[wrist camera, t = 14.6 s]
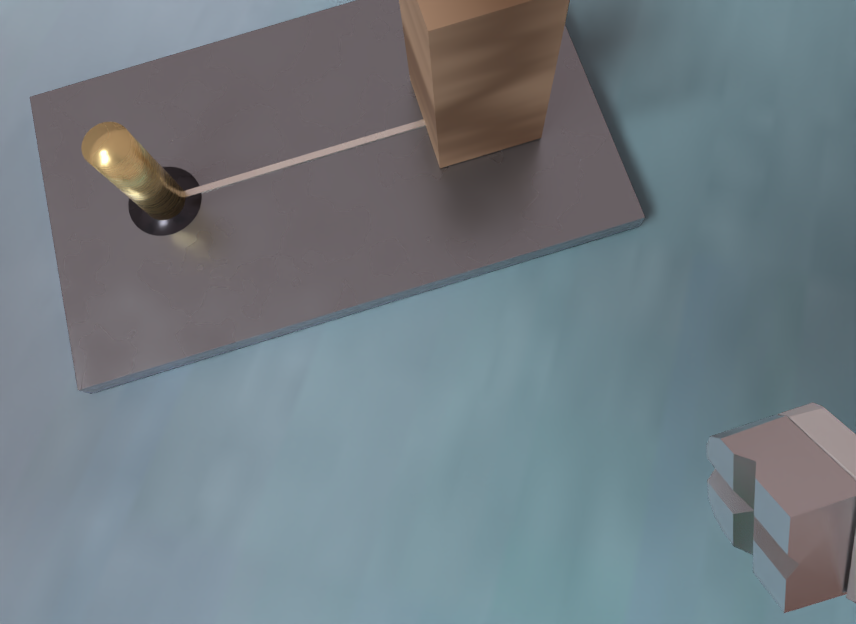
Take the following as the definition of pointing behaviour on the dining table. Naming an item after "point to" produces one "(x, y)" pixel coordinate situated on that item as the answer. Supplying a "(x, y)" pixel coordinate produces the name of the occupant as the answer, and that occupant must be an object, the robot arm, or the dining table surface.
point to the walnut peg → (482, 70)
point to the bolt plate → (292, 191)
